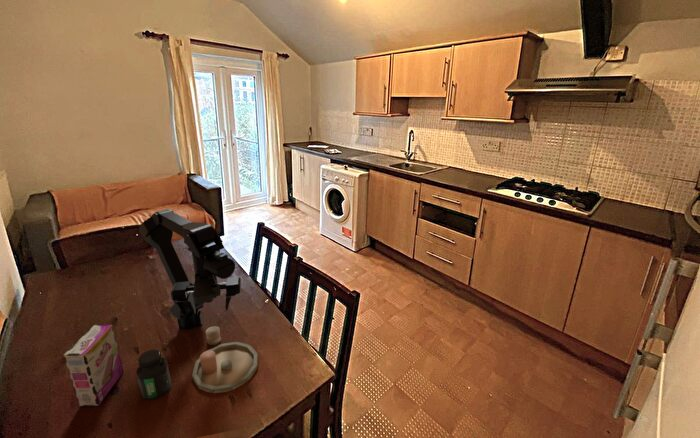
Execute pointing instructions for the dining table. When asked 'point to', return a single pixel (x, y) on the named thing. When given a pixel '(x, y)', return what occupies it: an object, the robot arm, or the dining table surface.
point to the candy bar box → (94, 365)
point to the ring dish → (227, 368)
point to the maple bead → (213, 335)
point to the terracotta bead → (208, 362)
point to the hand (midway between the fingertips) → (210, 311)
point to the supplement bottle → (153, 375)
